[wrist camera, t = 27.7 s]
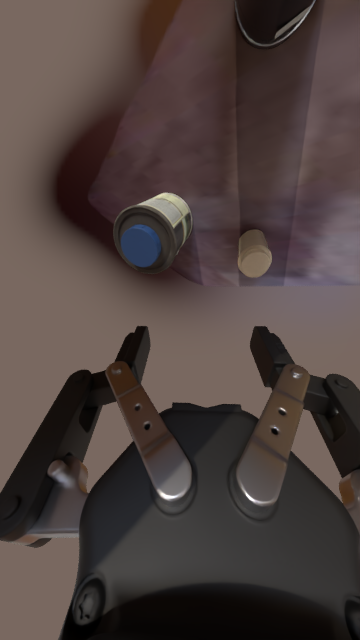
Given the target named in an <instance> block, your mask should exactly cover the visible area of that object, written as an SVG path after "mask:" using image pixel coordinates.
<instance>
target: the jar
mask: <svg viewBox="0 0 360 640" xmlns="http://www.w3.org/2000/svg"><path fill="white" fill-rule="evenodd" d="M271 261H272V255H271V252H270V249H269V246H268V243H267V240H266V237H265V235H264V233H263V232H261V231H259V230H249V231H247V232H245V233H244V234H243V235H242V236H241V237H240V239H239V242H238V267H239V269H240V270H241V272H242V273H243V274H244V275H246V276H248V277H253V278H255V277H260V276H261V275H263V274H264V273H265V272H266V271H267V270H268V268H269V266H270V264H271Z"/></svg>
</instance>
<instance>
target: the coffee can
mask: <svg viewBox="0 0 360 640" xmlns="http://www.w3.org/2000/svg"><path fill="white" fill-rule="evenodd" d="M139 224H141V225H146V226H148V227H150V228H151V229H153V230H154V231H155V233H156V234H157V235H158V237H159V239H160V242H161V252H160V255H159V257H158V258H157V260H156V261H155V262H154V263H153V264H152V265H150V266H147V267H139V266H136V265H134V264H133V263H131V262H130V261H129V260H128V259H127V258H126V257H125V255H124V253H123V251H122V248H121V238H122V235H123V234H124V232H125V231H126V230H128V229H129V228H131V227H132V226H134V225H139ZM191 230H192V215H191V211H190V209H189V207H188V205H187V204H186V202H185V201H184V200H183V199H182V198H180V197H179V196H177V195H175V194H172V193H163V194H160V195H157V196H156V197H154V198H152V199H149V200H147V201H145V202H142V203H140V204H138V205H134V206H130V207H128V208H126V209H124V210H123V211H122V212H121V213H120V214H119V215H118V217H117V219H116V221H115V224H114V231H113V235H114V242H115V245H116V248H117V250H118V252H119V254H120V255H121V257H122V258H123V260H124V261H125V262H126V263H127V264H128V265H129V266H131V267H132V268H133V269H135V270H137V271H139V272H142V273H146V274H156V273H160V272H162V271H164V270H166V269H167V268H168V267H169V266H170V265H171V264H172V262H173V260H174V258H175V256H176V254H177V253H178V251H179V250H180V248H181V247H182V245H183V244H184V242H185V241H186V239H187V238H188V237H189V235H190V233H191Z"/></svg>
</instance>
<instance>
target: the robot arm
mask: <svg viewBox="0 0 360 640" xmlns="http://www.w3.org/2000/svg"><path fill="white" fill-rule="evenodd" d="M315 1H316V0H235V11H236V18H237V22H238V25H239V28H240V31H241V33H242V35H243V37H244V38H245V39H246V41H247V42H248V43H249V44H250V45H252V46H253V47H255V48H258V49H270V48H273V47H276V46H278V45H280V44H281V43H283V42H284V41H286V40H287V39H288V38H289V37H290V36H291V35H292V34H293V33H294V32H295V31H296V30H297V29H298V28H299V27H300V25H301V24H302V23H303V21H304V20H305V18H306V17H307V15H308V14H309V12H310V10H311V9H312V7H313V5H314V3H315ZM250 349H251V352H252V355H253V357H254V360H255V362H256V365H257V368H258V370H259V373H260V376H261V378H262V381H263V383H264V386H265V387H271V388H272V393H271V395H270V398H269V400H268V402H267V404H266V406H265V408H264V410H263V412H262V415H261V416H260V419H258V418H257V417H255V416H254V415H252V414H250V413H248V412H246V411H243V410H242V409H241V405H238V404H221V405H217V406H213V407H209V408H205V407H201V406H198V405H194V404H191V403H173V404H172V408H169V409H166V410H164V411H162V412H161V413H158V412H157V410H156V409H155V407H154V405H153V403H152V402H151V400H150V398H149V397H148V395H147V393H146V392H145V390H144V388H143V387H142V385H141V381H142V376H143V373H144V369H145V366H146V362H147V358H148V354H149V350H150V337H149V331H148V327H147V326H137V328H136V330H135V333H130V334H128V335H127V337H126V338H125V340H124V342H123V344H122V347H121V349H120V351H119V353H118V355H117V358H116V360H115V362H114V363H112V364H110V365H109V366H108V367H107V369H106V370H105V371H102V372H98V373H94V374H91V372H90V371H89V370H79V371H77V372H75V373H73V374H72V375H71V376H70V377H69V378H68V379H67V381H66V383H65V385H64V386H63V388H62V390H61V391H60V393H59V395H58V396H57V398H56V400H55V401H54V403H53V405H52V407H51V408H50V410H49V412H48V413H47V415H46V417H45V418H44V420H43V422H42V423H41V425H40V427H39V429H38V430H37V432H36V434H35V435H34V437H33V439H32V441H31V442H30V444H29V445H28V447H27V449H26V451H25V452H24V454H23V456H22V457H21V459H20V461H19V462H18V464H17V466H16V468H15V469H14V471H13V473H12V474H11V476H10V478H9V480H8V481H7V483H6V484H5V486H4V488H3V490H2V492H1V493H0V540H1V541H6V542H11V543H16V544H20V545H25V546H30V547H34V548H37V547H41V546H43V545H45V544H46V543H47V542H49V541H50V540H51V538H56V537H57V538H60V537H79V546H80V549H79V565H78V573H77V579H76V584H75V589H74V593H73V597H72V600H71V603H70V606H69V609H68V612H67V615H66V618H65V621H64V624H63V627H62V630H61V633H60V636H59V639H58V640H360V391H359V389H358V388H357V387H356V386H355V384H354V383H353V382H352V381H350V380H349V379H348V378H346V377H344V376H341V375H338V374H329V375H328V376H327V377H326V379H324V378H320V377H317V376H313V375H310V374H309V373H308V371H307V370H306V369H304V368H303V367H301V366H299V365H296V364H295V363H294V361H293V360H292V358H291V356H290V355H289V353H288V352H287V350H286V349H285V347H284V345H283V344H282V342H281V340H280V339H279V337H277V336H276V335H275V334H274V333H270V332H269V330H268V329H267V327H265V326H255V327H254V330H253V333H252V338H251V341H250ZM116 401H117V403H118V406H119V408H120V410H121V413H122V415H123V417H124V420H125V422H126V424H127V427H128V429H129V431H130V434H131V436H132V439H133V442H132V443H131V444H130V445H129V446H128V447H127V449H126V450H125V451H124V452H123V453H122V454H121V455H120V456H119V458H118V459H117V460H116V461H115V462H114V463H113V464H112V465H111V466H110V468H109V469H108V470H107V471H106V472H105V473H104V475H102V477H101V478H100V479H99V480H98V481H97V482H96V484H95V485H94V486H93V488H92V489H91V491H90V493H87V490H86V483H87V478H88V471H87V468H86V467H85V466H84V465H83V464H82V462H83V460H84V457H85V454H86V451H87V448H88V445H89V443H90V440H91V437H92V434H93V431H94V429H95V426H96V423H97V420H98V417H99V414H100V412H101V409H102V406H103V405H106V404H109V403H112V402H116ZM303 409H305V410H309V411H310V412H311V414H312V416H313V418H314V420H315V422H316V425H317V427H318V429H319V431H320V433H321V435H322V437H323V439H324V441H325V443H326V445H327V448H328V449H329V452H330V454H331V456H332V458H333V460H334V462H335V464H336V466H337V468H338V470H339V472H340V474H341V477H342V479H341V481H340V483H339V490H340V493H341V496H342V501H343V503H342V502H341V501H340V500H339V499H338V497H337V496H336V495H335V494H334V493H333V492H332V491H331V490H330V489H329V488H328V487H327V486H326V485H325V484H324V483H323V482H322V481H321V480H320V479H319V478H318V477H317V476H316V475H315V474H314V473H313V472H312V471H311V470H309V468H307V466H306V465H305V464H304V463H303V462H302V461H301V460H300V459H299V458H298V457H297V456H295V454H294V453H293V452H292V451H291V447H292V444H293V441H294V437H295V434H296V431H297V427H298V424H299V421H300V417H301V414H302V411H303Z"/></svg>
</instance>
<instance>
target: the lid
mask: <svg viewBox="0 0 360 640" xmlns="http://www.w3.org/2000/svg"><path fill="white" fill-rule="evenodd" d="M121 248H122V251H123V253H124V255H125V257H126V258H127V259H128V260H129V261H130V262H131V263H133V264H134V265H136V266H139V267H147V266H150V265H152V264H153V263H154V262H155V261H156V260H157V258H158V257H159V255H160V252H161V242H160V239H159V237H158V235H157V234H156V233H155V231H154V230H153V229H151V228H150V227H148V226H146V225H141V224H139V225H134V226H132V227H131V228H129V229H128V230H126V231H125V232H124V234H123V235H122V238H121Z"/></svg>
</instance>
